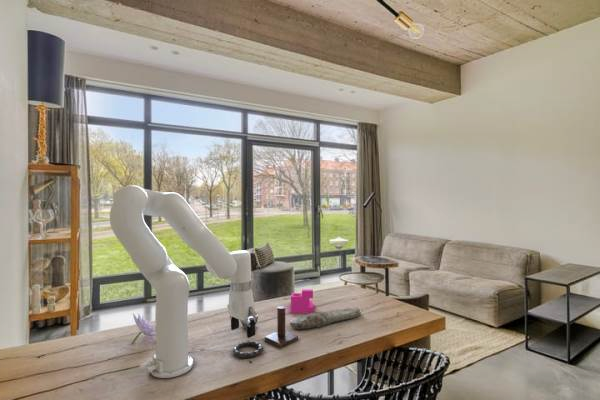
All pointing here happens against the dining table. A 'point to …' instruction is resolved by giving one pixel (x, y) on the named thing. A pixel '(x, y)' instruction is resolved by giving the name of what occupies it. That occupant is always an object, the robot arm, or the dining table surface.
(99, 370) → the dining table surface
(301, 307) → the bracket
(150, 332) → the water lily
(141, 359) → the dining table surface
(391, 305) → the dining table surface
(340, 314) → the long grey stone
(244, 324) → the paper boat
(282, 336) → the peg stand
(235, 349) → the hoop
